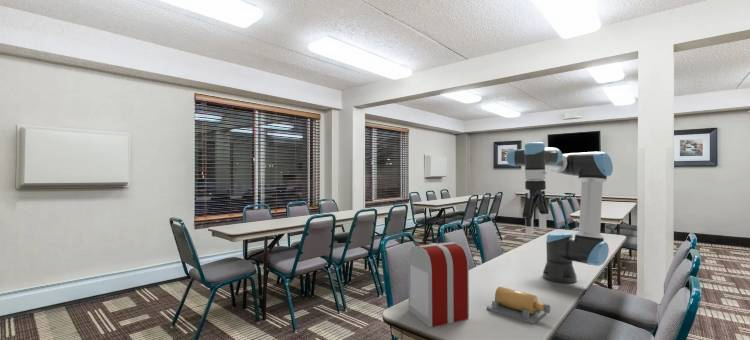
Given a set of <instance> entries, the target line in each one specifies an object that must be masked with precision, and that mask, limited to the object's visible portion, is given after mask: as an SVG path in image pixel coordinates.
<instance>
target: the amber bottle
mask: <svg viewBox="0 0 750 340" xmlns="http://www.w3.org/2000/svg"><path fill="white" fill-rule="evenodd" d="M494 301H497V302H499V305H502V306H506V307H509V308H512V309H516V310H519V311H522V312H523V310H527V311H530V314H532V315H534V314H535V313H536V311H537V310H540V311H544V312H545V313H547V314H550V312H551V308H552V307H551V305H550V304H549V303H541V302H539V299H538V296H537V295H534V294H531V293H528V292H527V293H526V292H523V291H520V290H516V289H511V288H507V287H503V286H498V287H497V288H496V290H495V292H494Z"/></svg>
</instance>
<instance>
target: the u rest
mask: <svg viewBox="0 0 750 340" xmlns="http://www.w3.org/2000/svg"><path fill="white" fill-rule="evenodd" d="M486 310H487V311H491V312H494V313H497V314H500V315H504V316H506V317H509V318H513V319H516V320H519V321H523V322H524V323H529V324H532V325H534V324H535V323H537V322H538V321H539V320H540V319H542V318H543V317H544V316H545V315H546V314H548V313H545V312H544V311H540V310H537V311H536V313H535V314H534V315H532V314H530V311H527V310H523V312H522V311H519V310H516V309H512V308H509V307H506V306H502V305H499V302H497V301H495V300H493V301H491V303H490V304H489V305H488V306H486Z"/></svg>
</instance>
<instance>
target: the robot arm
mask: <svg viewBox="0 0 750 340" xmlns="http://www.w3.org/2000/svg"><path fill="white" fill-rule="evenodd" d="M506 162H507V164H508V165H509V166H512V167H519V166H520V167H524V180H525V181H524V185H525V186H524V188H525V190H527V191H529V192H526V193H525V201H524V206H523V210H522V211H523V212H522V218H523V219H525V220H524V221H525V235H530V236H534V230H535V229H534V218H533V215H534V211H535V208H536V206H537V210H538V212H539V213H538V229H539V230H544V231H545V230H547V215H549V213H550V212H549V208H548V202H547V199H546V192H545V190H546V184H547V183H546V180H545V179H546V175H547V172H546V170H550V171H551V172H554V173H556V174H563V175H568V176H573V177H574V176H576V177H577V176H578V180H579V181H580V183H581V186H580V187H581V188H580V206H579V207H580V209H579V223H578V231H577V232H576V233H574V234H575V235H573V234H572V233H571V232H554V233H549V234H546V235H547V236H546V242H545V245H546V263H545V266H544V269H543V271H542V277H543V278H544V279H545V280H548V281H551V282H556V283H563V284H567V283H568V284H571V283H572V284H573V283H575V282H577V281H578V280H577V279H578V278H577V274H576V271H575V268H574V265H573V262H576V263H580V264H586V265H588V266H597V267H599V266H602V265H603V264H605V262H606V260H607V258H608V256H609V251H610V247H609V244H608V243H607V242H606V241H605V238H604V236H603V235H602V234H601V223H602V222H601V221H602V220H601V219H602V205H603V204H602V203H603V201H602V200H603V185H604V183H605V182H606V181H607V180H608V179H607V178H608V177H609V176H612V174H613V168H614V166H613V162H612V159H611V157H610V155H609V154H608V153H607V152H604V151H587V152H585V151H584V152H570V153H562V151H561V150H560V149H559V148H557V147H552V146H551V147H550V146H549V147H546V146H545V143H544V142H542V141H537V142H536V141H534V142H533V141H532V142H526V143H525V144H524V148H523V149H522V148H521V149H520V148H519V149H517V148H516V149H511V150H509V151H507V154H506ZM573 236H574V237H573Z"/></svg>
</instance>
